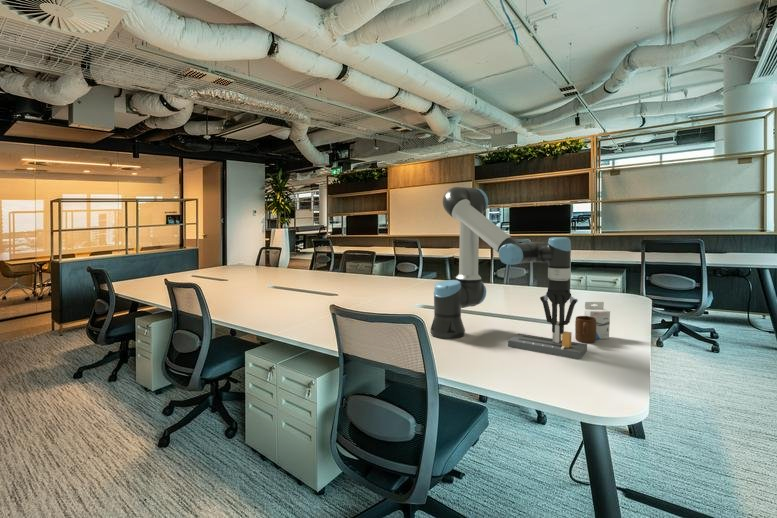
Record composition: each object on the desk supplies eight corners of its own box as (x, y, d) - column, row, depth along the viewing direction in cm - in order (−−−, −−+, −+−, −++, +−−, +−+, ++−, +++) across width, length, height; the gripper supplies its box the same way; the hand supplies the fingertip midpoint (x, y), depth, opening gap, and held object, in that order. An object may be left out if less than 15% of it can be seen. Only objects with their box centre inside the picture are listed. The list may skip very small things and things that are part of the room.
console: (507, 346, 151) (507, 338, 151) (518, 339, 161) (518, 331, 161) (579, 359, 136) (580, 350, 135) (586, 350, 145) (587, 342, 145)
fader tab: (561, 346, 141) (562, 333, 141) (564, 344, 144) (564, 331, 143) (568, 348, 140) (569, 334, 139) (571, 345, 142) (571, 332, 142)
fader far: (552, 341, 148) (552, 328, 147) (554, 339, 151) (555, 326, 150) (559, 342, 146) (559, 329, 146) (561, 340, 149) (561, 327, 149)
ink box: (589, 339, 159) (590, 303, 158) (583, 335, 164) (584, 301, 163) (609, 338, 159) (610, 303, 158) (602, 335, 164) (603, 301, 163)
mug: (596, 347, 148) (596, 323, 147) (574, 345, 152) (574, 322, 151) (596, 338, 159) (596, 316, 158) (575, 336, 162) (575, 315, 161)
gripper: (537, 279, 143) (536, 341, 145) (575, 281, 135) (574, 347, 137) (543, 276, 149) (542, 336, 150) (580, 279, 141) (578, 342, 143)
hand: (557, 341), depth 144 cm, fingers closed
